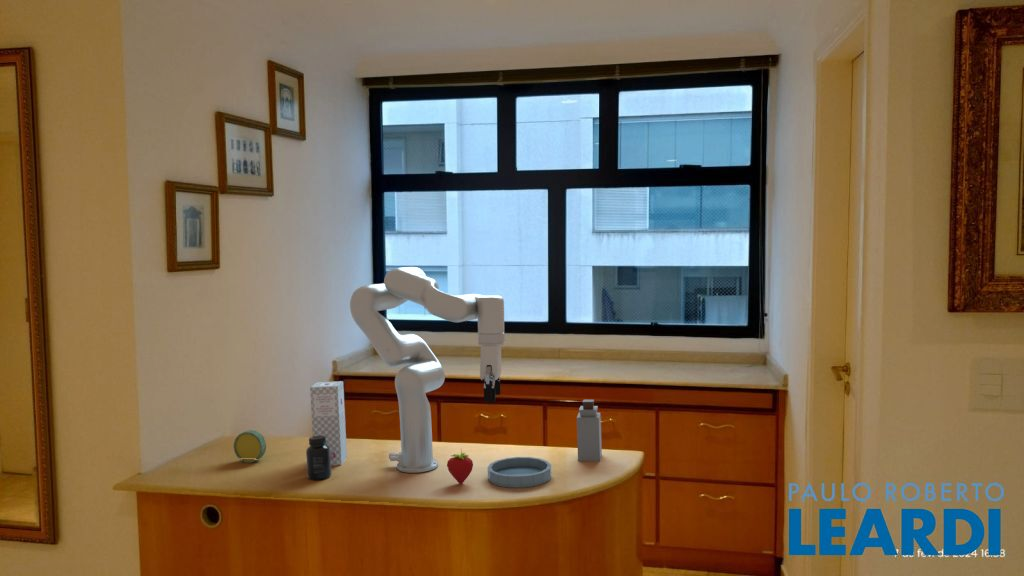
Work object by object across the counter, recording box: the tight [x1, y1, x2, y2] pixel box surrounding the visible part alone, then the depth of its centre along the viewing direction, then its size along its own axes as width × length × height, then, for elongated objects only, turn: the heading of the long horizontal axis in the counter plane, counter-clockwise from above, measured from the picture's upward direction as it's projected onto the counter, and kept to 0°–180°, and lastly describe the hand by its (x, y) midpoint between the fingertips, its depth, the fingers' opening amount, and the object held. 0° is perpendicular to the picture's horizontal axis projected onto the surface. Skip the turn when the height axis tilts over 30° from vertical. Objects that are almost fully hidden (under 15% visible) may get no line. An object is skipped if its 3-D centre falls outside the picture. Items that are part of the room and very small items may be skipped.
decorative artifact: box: [233, 429, 267, 464], centre depth 233 cm, size 10×7×10 cm
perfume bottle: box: [576, 399, 603, 462], centre depth 221 cm, size 7×7×18 cm
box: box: [309, 380, 348, 467], centre depth 227 cm, size 8×8×25 cm
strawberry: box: [446, 449, 474, 484], centre depth 201 cm, size 6×8×10 cm
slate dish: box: [487, 456, 552, 489], centre depth 205 cm, size 18×18×3 cm
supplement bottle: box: [305, 435, 332, 481], centre depth 212 cm, size 7×7×12 cm
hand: (492, 398), depth 204 cm, fingers open, 9 cm apart
